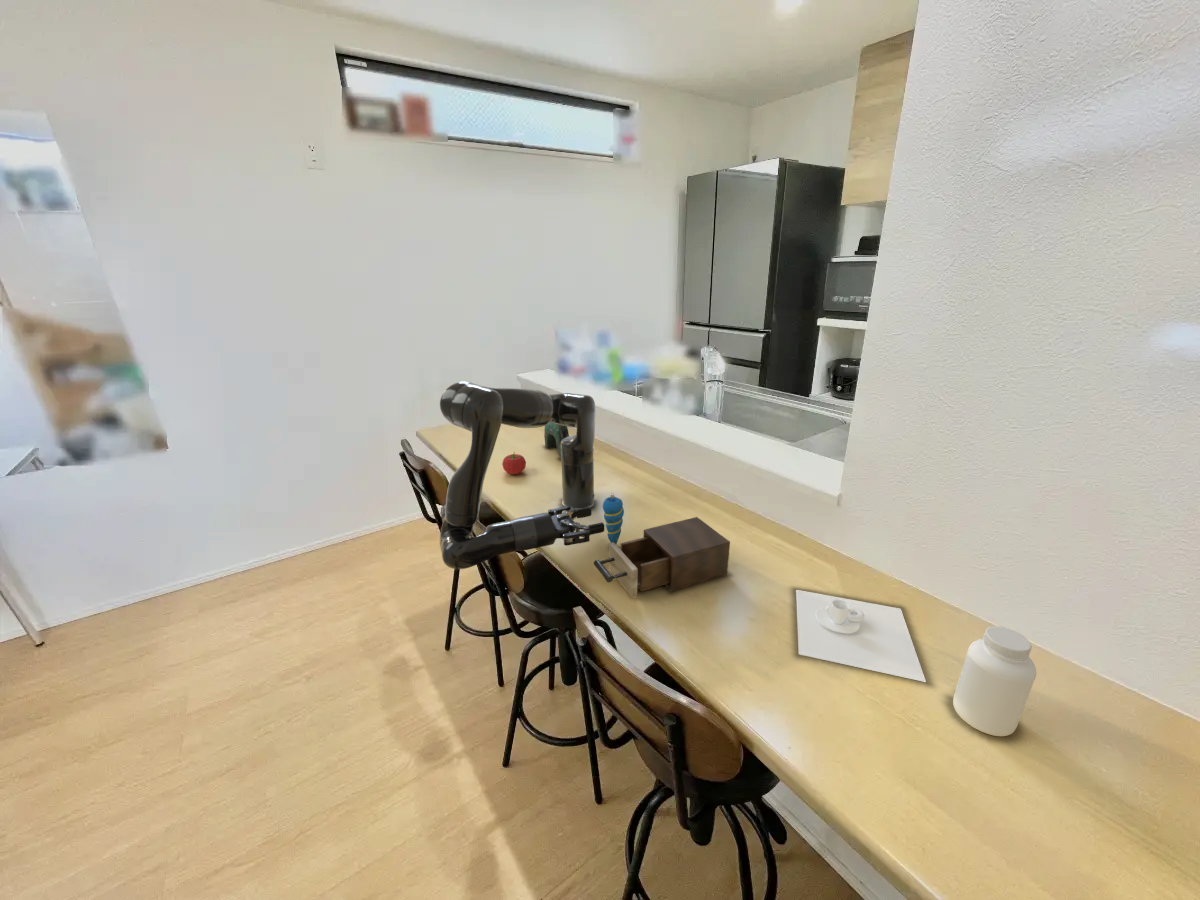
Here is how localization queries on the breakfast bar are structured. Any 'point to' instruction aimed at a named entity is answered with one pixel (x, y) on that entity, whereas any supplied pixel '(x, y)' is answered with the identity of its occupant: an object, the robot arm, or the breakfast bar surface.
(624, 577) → the drawer
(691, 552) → the cabinet
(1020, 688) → the pill bottle
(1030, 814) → the breakfast bar surface
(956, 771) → the breakfast bar surface
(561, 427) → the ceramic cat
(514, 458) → the tomato
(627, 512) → the breakfast bar surface
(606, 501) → the ornament
